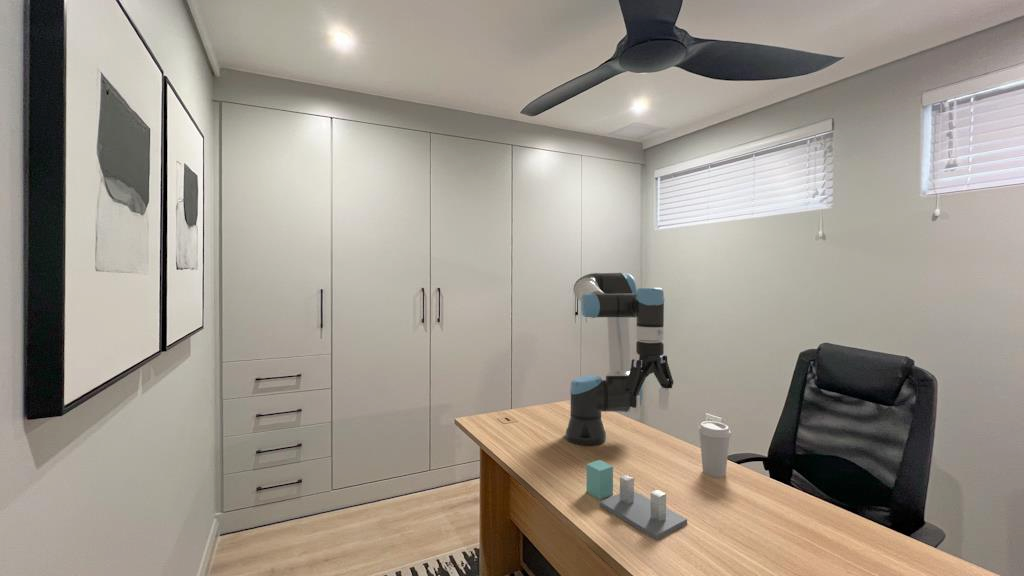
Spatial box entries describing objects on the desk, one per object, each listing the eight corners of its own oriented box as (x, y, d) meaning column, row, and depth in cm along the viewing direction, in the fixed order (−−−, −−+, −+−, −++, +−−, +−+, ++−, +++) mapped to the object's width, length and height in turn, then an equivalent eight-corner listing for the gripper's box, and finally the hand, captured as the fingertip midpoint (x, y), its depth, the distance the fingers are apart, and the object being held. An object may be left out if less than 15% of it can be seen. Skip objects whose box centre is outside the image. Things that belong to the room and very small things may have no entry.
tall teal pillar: (586, 491, 121) (586, 464, 121) (599, 486, 124) (599, 459, 124) (599, 499, 117) (599, 470, 117) (612, 494, 120) (613, 466, 120)
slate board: (599, 506, 114) (599, 501, 114) (630, 493, 120) (630, 489, 120) (656, 540, 99) (656, 535, 99) (687, 523, 105) (687, 518, 105)
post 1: (619, 500, 114) (619, 476, 114) (626, 498, 116) (626, 474, 115) (627, 505, 112) (627, 480, 112) (633, 502, 113) (633, 478, 113)
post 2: (650, 518, 106) (650, 492, 106) (657, 514, 107) (657, 489, 107) (659, 523, 104) (659, 496, 104) (665, 519, 105) (666, 493, 105)
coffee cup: (735, 481, 128) (735, 431, 127) (701, 478, 129) (701, 429, 129) (726, 467, 137) (726, 421, 137) (694, 465, 139) (694, 419, 139)
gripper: (633, 346, 112) (633, 426, 113) (685, 338, 127) (685, 408, 128) (611, 343, 118) (611, 418, 119) (663, 336, 133) (663, 403, 134)
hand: (649, 413), depth 123 cm, fingers open, 13 cm apart
